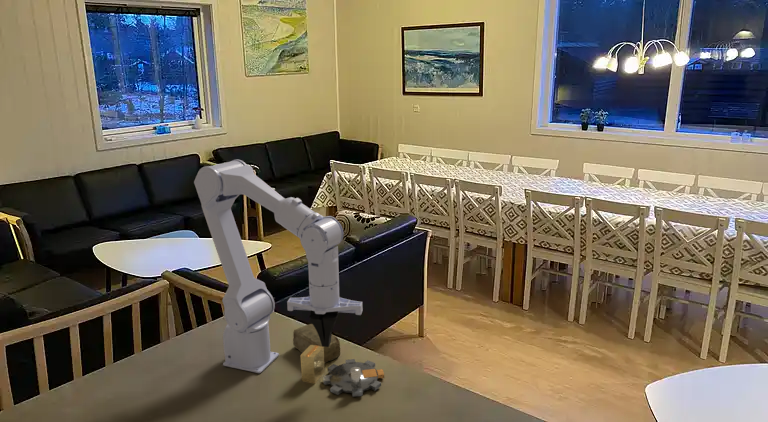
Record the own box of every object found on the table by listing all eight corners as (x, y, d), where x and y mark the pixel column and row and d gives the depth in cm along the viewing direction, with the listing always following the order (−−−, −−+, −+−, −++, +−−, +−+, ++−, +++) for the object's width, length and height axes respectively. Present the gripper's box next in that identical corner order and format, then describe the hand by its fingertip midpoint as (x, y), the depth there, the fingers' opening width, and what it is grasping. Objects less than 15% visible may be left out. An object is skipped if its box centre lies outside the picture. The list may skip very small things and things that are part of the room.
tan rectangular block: (301, 381, 112) (300, 355, 110) (312, 369, 116) (310, 344, 114) (314, 384, 111) (313, 357, 109) (324, 372, 115) (323, 346, 113)
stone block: (321, 367, 117) (320, 346, 116) (291, 348, 125) (290, 328, 124) (342, 357, 121) (341, 337, 120) (311, 339, 129) (310, 320, 128)
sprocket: (325, 399, 105) (324, 379, 104) (321, 365, 117) (320, 347, 116) (388, 392, 107) (388, 372, 106) (378, 359, 119) (378, 341, 118)
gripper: (280, 287, 101) (284, 352, 105) (357, 291, 100) (358, 357, 103) (292, 272, 108) (295, 334, 112) (364, 276, 106) (364, 338, 110)
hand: (326, 344), depth 108 cm, fingers closed
